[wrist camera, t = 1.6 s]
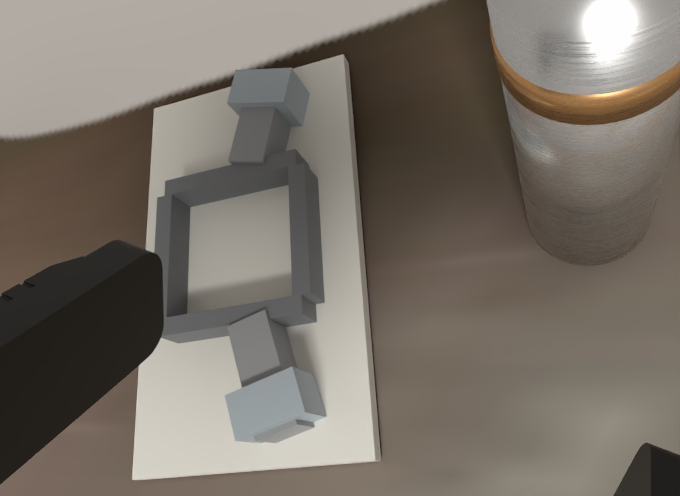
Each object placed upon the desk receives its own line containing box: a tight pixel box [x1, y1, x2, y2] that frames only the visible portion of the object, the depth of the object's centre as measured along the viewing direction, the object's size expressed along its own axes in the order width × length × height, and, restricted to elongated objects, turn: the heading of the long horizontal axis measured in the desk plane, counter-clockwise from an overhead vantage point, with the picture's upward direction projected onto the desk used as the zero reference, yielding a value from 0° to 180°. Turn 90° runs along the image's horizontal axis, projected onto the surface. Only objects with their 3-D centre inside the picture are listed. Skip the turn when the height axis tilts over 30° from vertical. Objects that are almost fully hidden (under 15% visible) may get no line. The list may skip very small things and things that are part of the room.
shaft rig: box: [132, 54, 381, 480], centre depth 28 cm, size 19×11×3 cm, turn 3°
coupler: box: [487, 0, 680, 265], centre depth 18 cm, size 5×5×14 cm
